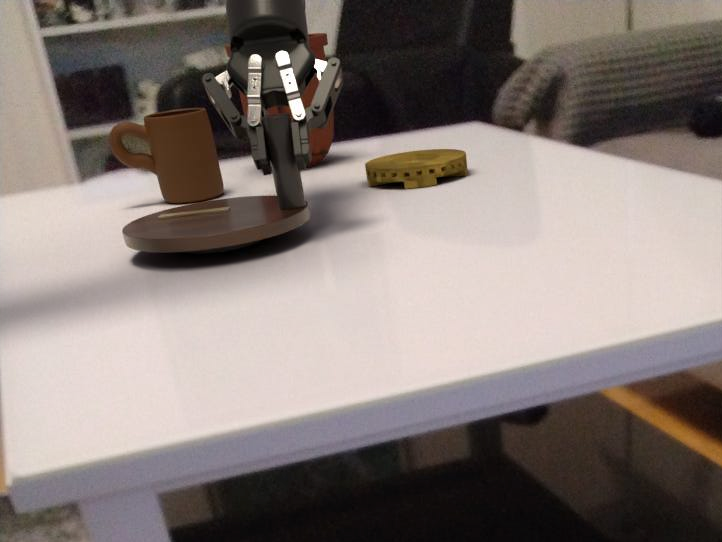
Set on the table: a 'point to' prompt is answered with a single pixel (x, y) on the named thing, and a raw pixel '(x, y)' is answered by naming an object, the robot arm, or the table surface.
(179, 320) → the table surface
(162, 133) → the mug
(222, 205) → the stand with round base
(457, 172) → the yellow flat disc
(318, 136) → the potted plant
